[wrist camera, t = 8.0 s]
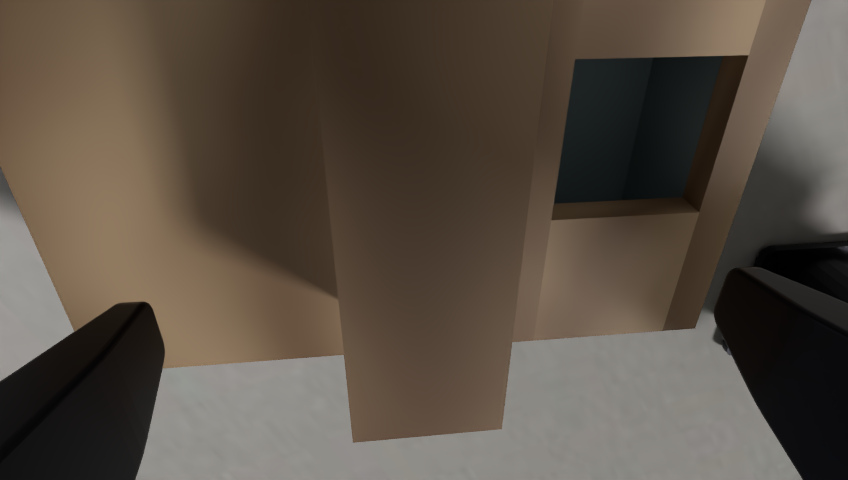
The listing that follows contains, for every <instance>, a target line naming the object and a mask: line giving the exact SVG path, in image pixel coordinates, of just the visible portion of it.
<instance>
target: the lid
mask: <svg viewBox="0 0 848 480" xmlns="http://www.w3.org/2000/svg"><path fill="white" fill-rule="evenodd" d="M810 3H811V0H0V167H1V169H2V171H3V174H4V176H5V178H6V180H7V182H8V185H9V187H10V189H11V191H12V194H13V196H14V198H15V200H16V202H17V205H18V207H19V209H20V211H21V214H22V216H23V218H24V220H25V222H26V225H27V227H28V229H29V231H30V234H31V236H32V238H33V240H34V242H35V245H36V247H37V249H38V251H39V254H40V256H41V258H42V260H43V262H44V265H45V267H46V269H47V271H48V274H49V276H50V278H51V280H52V282H53V285H54V287H55V289H56V291H57V294H58V296H59V298H60V300H61V302H62V305H63V307H64V309H65V311H66V314H67V316H68V318H69V320H70V322H71V325H72V327H73V329H74V331H76V330H78V329H79V328H81V327H82V326H84V325H85V324H87V323H88V322H90V321H91V320H93V319H94V318H96V317H97V316H99V315H100V314H102V313H103V312H105V311H106V310H108V309H109V308H111V307H112V306H114V305H115V304H118V303H123V302H141V301H144V302H147V303H149V304H150V305H151V307H152V308H153V311H154V314H155V317H156V320H157V323H158V326H159V329H160V332H161V335H162V338H163V341H164V346H165V359H164V364H163V368H174V367H188V366H201V365H214V364H227V363H241V362H254V361H267V360H281V359H294V358H307V357H320V356H334V355H344V359H345V369H346V379H347V389H348V398H349V408H350V418H351V428H352V437H353V443H354V442H365V441H376V440H387V439H398V438H409V437H420V436H431V435H442V434H453V433H463V432H474V431H485V430H496V429H502V422H503V414H504V406H505V397H506V389H507V381H508V372H509V364H510V356H511V348H512V342H520V341H533V340H546V339H559V338H573V337H586V336H599V335H613V334H626V333H639V332H652V331H666V330H679V329H692V328H695V327H696V324H697V321H698V318H699V315H700V313H701V310H702V307H703V304H704V301H705V298H706V296H707V293H708V290H709V287H710V284H711V282H712V279H713V276H714V273H715V270H716V267H717V265H718V262H719V259H720V256H721V253H722V251H723V248H724V245H725V242H726V239H727V236H728V234H729V231H730V228H731V225H732V222H733V220H734V217H735V214H736V211H737V208H738V206H739V203H740V200H741V197H742V194H743V191H744V189H745V186H746V183H747V180H748V177H749V175H750V172H751V169H752V166H753V163H754V160H755V158H756V155H757V152H758V149H759V146H760V144H761V141H762V138H763V135H764V132H765V129H766V127H767V124H768V121H769V118H770V115H771V113H772V110H773V107H774V104H775V101H776V98H777V96H778V93H779V90H780V87H781V84H782V82H783V79H784V76H785V73H786V70H787V67H788V65H789V62H790V59H791V56H792V53H793V51H794V48H795V45H796V42H797V39H798V36H799V34H800V31H801V28H802V25H803V22H804V20H805V17H806V14H807V11H808V8H809V5H810ZM692 56H723V58H722V62H721V65H720V69H719V72H718V76H717V79H716V82H715V86H714V89H713V93H712V96H711V100H710V103H709V107H708V110H707V114H706V117H705V120H704V124H703V127H702V131H701V134H700V138H699V141H698V145H697V148H696V152H695V155H694V158H693V162H692V165H691V169H690V172H689V176H688V179H687V183H686V186H685V190H684V193H683V196H682V197H676V198H657V199H637V200H617V201H597V202H578V203H558V204H554V199H555V192H556V185H557V178H558V172H559V165H560V158H561V151H562V145H563V138H564V131H565V124H566V118H567V111H568V104H569V97H570V91H571V84H572V77H573V70H574V64H575V59H610V58H651V57H692Z"/></svg>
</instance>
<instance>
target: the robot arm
mask: <svg viewBox="0 0 848 480" xmlns="http://www.w3.org/2000/svg"><path fill="white" fill-rule="evenodd" d="M770 257H771V258H770ZM714 318H715V322H716V324H717V326H718V328H719V330H720V332H721V334H722V337H723V339H724V342H723V346H722V347H723V349H724V350H725V351H726V352H727V354H729V355H732V357H733V359H734V361H735V363H736V365H737V367H738V369H739V371H740V373H741V375H742V377H743V379H744V381H745V383H746V385H747V387H748V389H749V391H750V393H751V395H752V397H753V399H754V401H755V403H756V405H757V406H758V408H759V410H760V411H761V413H762V415H763V416H764V418H765V420H766V421H767V423H768V424H769V426H770V428H771V429H772V431H773V433H774V434H775V436H776V437H777V439H778V441H779V442H780V444H781V445H782V447H783V449H784V450H785V452H786V453H787V455H788V457H789V458H790V460H791V461H792V463H793V465H794V466H795V468H796V469H797V471H798V473H799V474H800V476H801V478H802V479H803V480H848V241H845V242H829V243H812V244H796V245H779V246H769V247H766V248H765V249H763V250H762V251H761V252H760V253H759V255H758V257H757V259H756V262H755V264H754V267H745V268H735V269H732V270H731V271H730V272H729V273H728V274H727V276H726V278H725V281H724V284H723V286H722V289H721V292H720V294H719V297H718V299H717V302H716V305H715V308H714ZM164 359H165V346H164V341H163V338H162V335H161V332H160V329H159V326H158V323H157V320H156V317H155V314H154V311H153V308H152V307H151V305H150V304H149V303H147V302H144V301H141V302H123V303H118V304H115V305H114V306H112V307H111V308H109V309H108V310H106V311H105V312H103V313H102V314H100V315H99V316H97V317H96V318H94V319H93V320H91V321H90V322H88V323H87V324H85V325H84V326H82V327H81V328H79V329H78V330H76V331H75V332H73V333H72V334H70V335H69V336H67V337H66V338H64V339H63V340H61V341H60V342H58V343H57V344H55V345H54V346H52V347H51V348H50V349H48V350H47V351H45V352H44V353H42V354H41V355H39V356H38V357H36V358H35V359H33V360H32V361H30V362H29V363H27V364H26V365H24V366H23V367H21V368H20V369H18V370H17V371H15V372H14V373H12V374H11V375H9V376H8V377H6V378H5V379H3V380H2V381H0V480H135V479H136V476H137V473H138V470H139V467H140V463H141V460H142V457H143V454H144V450H145V446H146V442H147V437H148V433H149V428H150V424H151V419H152V414H153V410H154V405H155V401H156V396H157V391H158V387H159V382H160V378H161V373H162V368H163V364H164Z"/></svg>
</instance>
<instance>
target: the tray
mask: <svg viewBox="0 0 848 480" xmlns="http://www.w3.org/2000/svg"><path fill="white" fill-rule="evenodd" d="M722 58H723V56H692V57H651V58H610V59H575V64H574V70H573V77H572V84H571V91H570V97H569V104H568V111H567V118H566V124H565V131H564V138H563V145H562V151H561V158H560V165H559V172H558V178H557V185H556V192H555V199H554V204H558V203H578V202H597V201H617V200H637V199H657V198H676V197H682V196H683V193H684V190H685V186H686V183H687V179H688V176H689V172H690V169H691V165H692V162H693V158H694V155H695V152H696V148H697V145H698V141H699V138H700V134H701V131H702V127H703V124H704V120H705V117H706V114H707V110H708V107H709V103H710V100H711V96H712V93H713V89H714V86H715V82H716V79H717V76H718V72H719V69H720V65H721V62H722Z"/></svg>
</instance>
